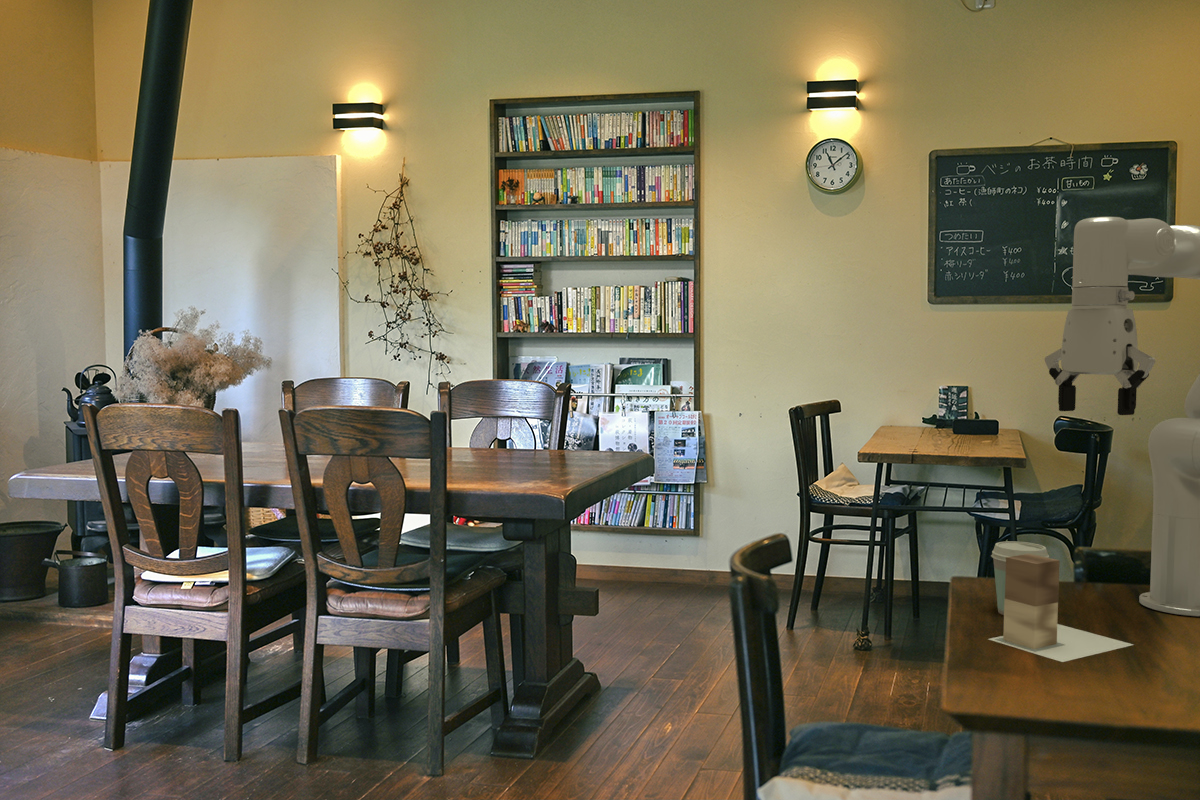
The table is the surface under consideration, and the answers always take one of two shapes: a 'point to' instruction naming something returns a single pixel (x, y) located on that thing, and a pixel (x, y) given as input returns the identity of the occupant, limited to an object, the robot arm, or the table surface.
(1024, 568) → the walnut block
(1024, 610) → the beech block
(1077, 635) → the build board
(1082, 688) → the table surface
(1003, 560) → the coffee cup
